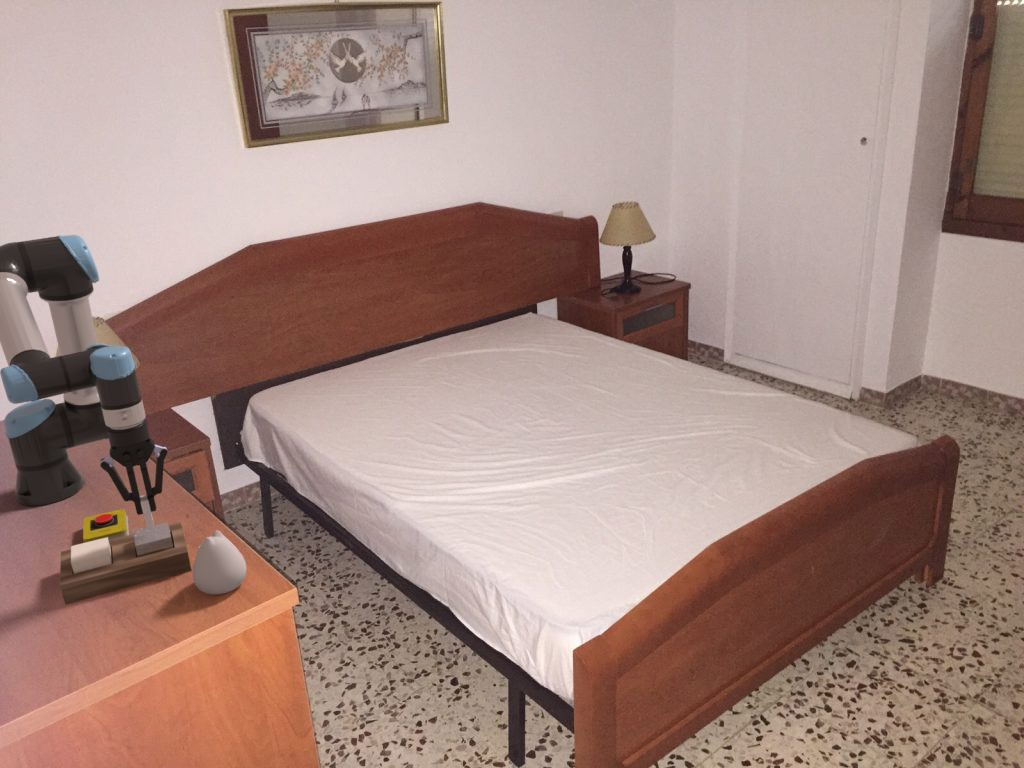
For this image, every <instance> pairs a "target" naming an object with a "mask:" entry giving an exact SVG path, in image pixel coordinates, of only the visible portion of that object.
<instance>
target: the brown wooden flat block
mask: <svg viewBox="0 0 1024 768" xmlns="http://www.w3.org/2000/svg"><path fill="white" fill-rule="evenodd" d="M169 529H170V533H171V538H172V543H173V548H171V549H167V550H164V551H160V552H156V553H152V554H148V555H144V556H140V557H138V556H137V552H136V547H135V541H134V533H131V534H129V535H127V536H123V537H119V538H115V539H111V540H109V544H110V548H111V553H112V564H110V565H106V566H102V567H98V568H94V569H90V570H87V571H83V572H79V573H75V574H74V572H73V568H72V565H71V549H68V550H64V551H60V567H59V570H60V571H59V587H60V588H59V589H60V591H61V596H62V598H63V599H62V600H63V602H64V605H69V604H72V603H75V602H80V601H83V600H87V599H90V598H91V599H92V598H94V597H97V596H102V595H106V594H109V593H112V592H116V591H120V590H123V589H127V588H132V587H135V586H139V585H143V584H145V583H150V582H154V581H158V580H161V579H164V578H169V577H172V576H176V575H179V574H183V573H186V572H189V571H192V565H191V562H190V561H191V560H190V557H189V553H188V548H187V543H186V540H185V539H186V538H185V536H184V532H183V531H184V530H183V526H182V522H181V521H180V522H175V523H172V524H169Z"/></svg>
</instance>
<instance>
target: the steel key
mask: <svg viewBox="0 0 1024 768" xmlns="http://www.w3.org/2000/svg"><path fill="white" fill-rule="evenodd" d="M169 525H170V524H169V522H164V523H159V524H154V528H150V529H147V528H146V527H143V528H139V529H136V530H133V532H132V533H133V534H134V541H135V547H136V552H137V556H138V557H140V556H144V555H148V554H152V553H156V552H160V551H164V550H167V549H171V548H173V543H172V538H171V533H170V529H169Z"/></svg>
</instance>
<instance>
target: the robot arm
mask: <svg viewBox="0 0 1024 768" xmlns="http://www.w3.org/2000/svg"><path fill="white" fill-rule="evenodd" d="M99 281H100V277H99V272H98V269H97V266H96V263H95V260H94V258H93V255H92V253H91V250H90V249H89V247H88V245H87V243H86V242H85V240H84V239H83V237H81V236H80V235H77V234H70V235H60V234H59V235H56V236H49V237H44V238H43V237H42V238H37V239H29V240H23V241H13V242H8V243H4V244H2V245H0V345H1V346H0V347H1V349H2V352H3V354H4V358H5V360H6V363H7V366H6V367H3V368H1V369H0V378H1V381H2V384H3V385H2V386H3V389H4V391H5V395H6V398H7V401H9V402H10V403H11V404H14V405H17V404H21V405H19V406H17V407H15V408H13V409H12V410H11V411H9V412H8V413H7V414H6V416H4V419H3V420H4V421H3V424H4V430H5V436H6V438H7V439H8V442H9V445H10V449H11V454H12V457H13V460H14V463H15V468H16V479H15V490H14V492H15V493H14V494H15V497H16V501H17V502H18V503H19V504H20V503H21V504H20V505H24V506H33V507H34V506H43V505H48V504H50V505H51V504H53V503H57V502H60V501H63V500H65V499H67V498H70V497H72V496H73V495H75V494H76V493H78V492H79V491H80V490H81V489H82V488H83V486H84V481H83V478H82V475H81V473H80V471H79V469H77V467H76V466H75V465H74V463H73V461H71V459H70V457H69V454H68V451H67V450H68V449H72V448H76V447H79V446H84V445H87V444H88V445H89V444H92V443H95V442H98V441H103V440H108V441H109V446H110V448H109V454H108V455H107V456H106V457H105V458H100V461H99V462H100V468H101V469H102V470H104V471H105V472H107V474H108V476H109V477H110V479H111V480H112V482H113V484H114V485H115V487H116V489H117V491H118V493H119V494H120V496H121V498H122V500H123V501H124V502H133V503H134V506H135V511H136V514H137V515H138V516H139V515H140V516H141V515H143V518H144V523H145V528H147V529H150V528H154V526H155V524H154V519H153V515H152V513H153V512H157V504H156V500H155V496H156V495H159V494H161V493H162V491H163V481H164V465H165V464H164V463H165V460H166V457H167V455H168V448H167V446H166V445H159V444H155V441H154V440H153V439H152V438H151V434H150V429H149V426H148V425H149V424H148V421H147V419H146V415H147V414H146V411H145V407H144V406H145V405H144V403H143V398H142V396H141V391H140V386H139V380H138V377H137V376H138V375H137V371H136V362H135V361H134V359H133V355H132V351H131V350H130V348H129V347H128V346H122V345H109V344H107V343H102V342H101V343H98V339H97V333H96V329H95V323H94V319H93V314H92V309H91V306H90V305H91V303H90V300H89V298H90V296H92V294H93V293H94V284H96V283H98V282H99ZM30 293H31V294H32V293H38V297H39V298H40V300H42V301H44V302H46V303H47V304H48V307H49V308H48V309H49V310H50V315H51V320H52V324H53V328H54V333H55V337H56V342H57V345H58V350H59V355H58V356H54V357H51V355H50V354H49V350H48V348H47V346H46V343H45V341H44V339H43V336H42V333H41V331H40V329H39V326H38V323H37V321H36V319H35V316H34V313H33V311H32V309H31V306H30V303H29V301H28V299H27V296H28V294H30ZM59 395H62V396H63V402H60V403H56V402H55V401H53V400H52V399H50V398H51V397H52V398H53V397H55V396H59ZM153 452H154V456H155V457H156V461H155V478H154V481H155V482H154V486H152V483H151V479H150V474H149V471H148V466H147V462H149V459H150V458H151V456H152V454H153ZM114 461H115V462H117V463H118V464H120V465H121V466H123V467H125V470H126V473H127V477H128V481H129V482H128V483H129V486H130V491H131V492H130V491H129V490H128V488H127V487H126V485H125V483H124V481H123V480H122V477H121V475H120V474H119V473H118V471H117V469H116V467H115V462H114ZM136 466H139V469H140V472H141V475H142V476H141V477H142V480H143V484H144V490H145V493H146V494H145V495H140V491H139V487H138V486H139V485H138V483H137V479H136V474H135V473H136V472H135V469H134V467H136Z"/></svg>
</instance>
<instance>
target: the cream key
mask: <svg viewBox="0 0 1024 768" xmlns="http://www.w3.org/2000/svg"><path fill="white" fill-rule="evenodd" d="M70 550H71V565H72V568H73V572H74V574H75V573H79V572H83V571H87V570H90V569H94V568H98V567H102V566H106V565H110V564H112V553H111V548H110V544H109V540H108V537H106V538H102V539H98V540H94V541H90V542H86V543H84V542H82V543H77V544H74V545H71V546H70Z"/></svg>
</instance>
